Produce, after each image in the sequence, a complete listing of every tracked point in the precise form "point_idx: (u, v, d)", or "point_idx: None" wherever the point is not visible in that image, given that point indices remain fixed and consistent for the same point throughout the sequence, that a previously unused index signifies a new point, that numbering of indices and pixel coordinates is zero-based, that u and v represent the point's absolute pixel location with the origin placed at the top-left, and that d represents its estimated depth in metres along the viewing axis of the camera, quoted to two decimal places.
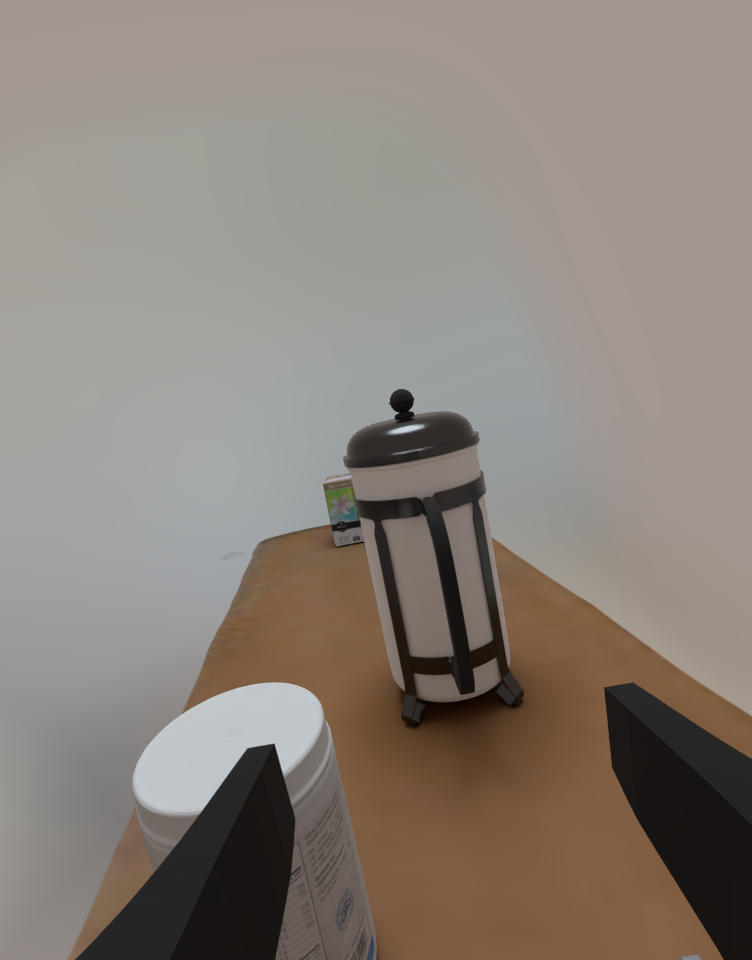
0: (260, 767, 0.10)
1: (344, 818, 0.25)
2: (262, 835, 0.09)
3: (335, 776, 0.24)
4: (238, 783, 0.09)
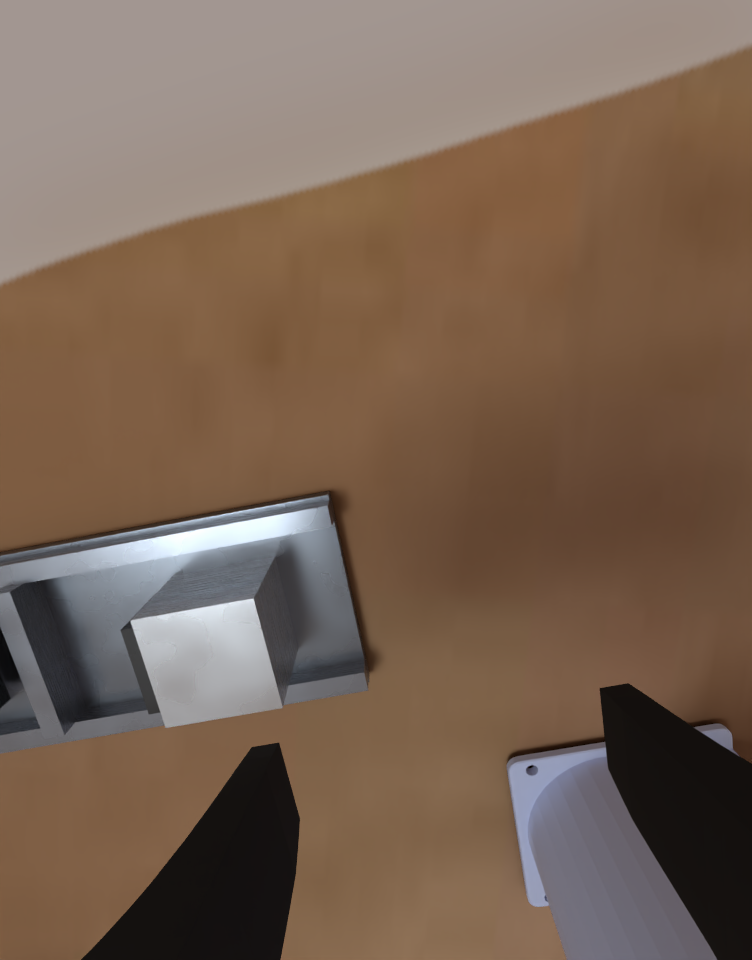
0: (265, 766, 0.10)
1: None
2: (267, 834, 0.09)
3: None
4: (243, 782, 0.09)
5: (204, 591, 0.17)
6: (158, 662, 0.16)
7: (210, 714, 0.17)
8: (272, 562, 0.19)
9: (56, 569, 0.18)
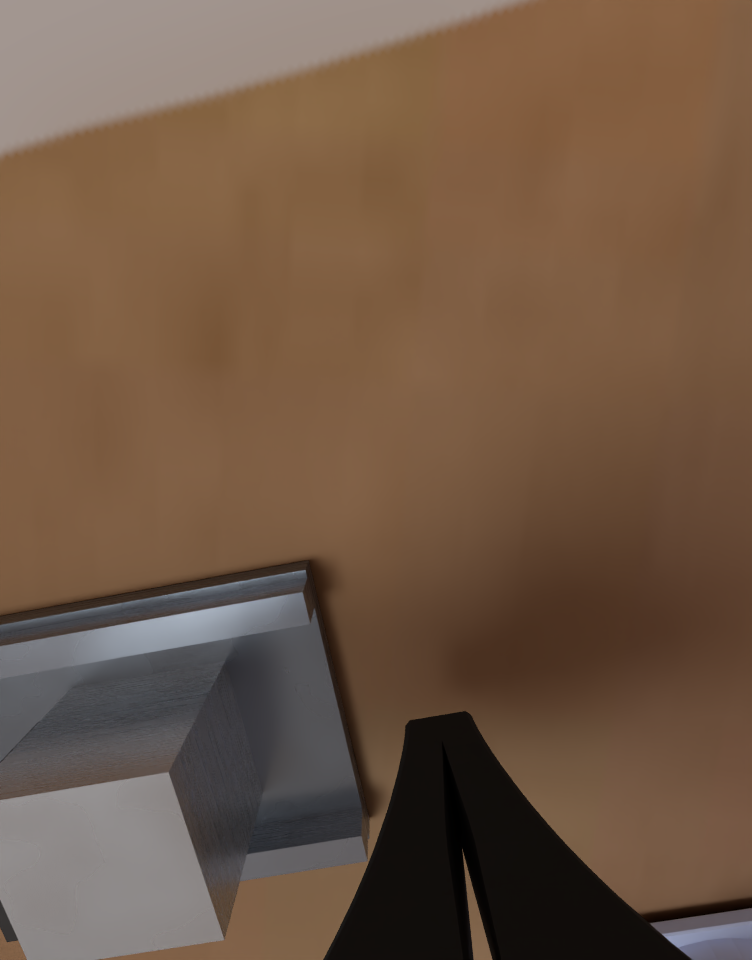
0: (439, 737, 0.10)
1: None
2: (450, 804, 0.09)
3: None
4: (424, 752, 0.09)
5: (99, 738, 0.10)
6: (11, 871, 0.10)
7: (104, 950, 0.10)
8: (219, 674, 0.12)
9: None
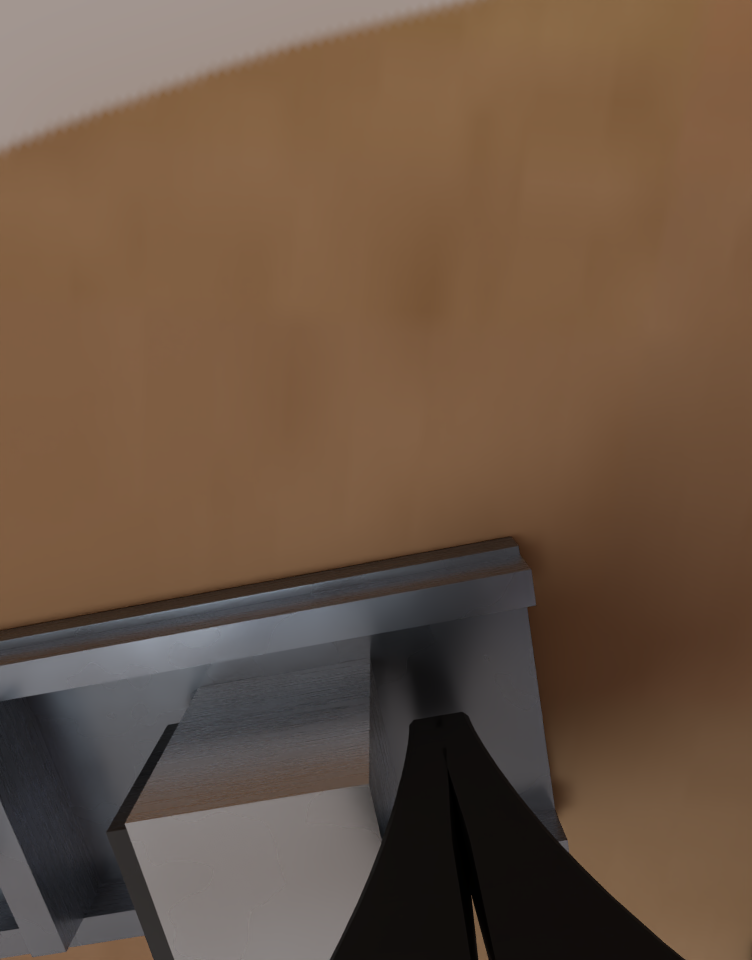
0: (443, 736, 0.10)
1: None
2: (455, 804, 0.09)
3: None
4: (428, 751, 0.09)
5: (261, 744, 0.09)
6: (178, 896, 0.08)
7: None
8: (369, 671, 0.11)
9: (50, 678, 0.10)
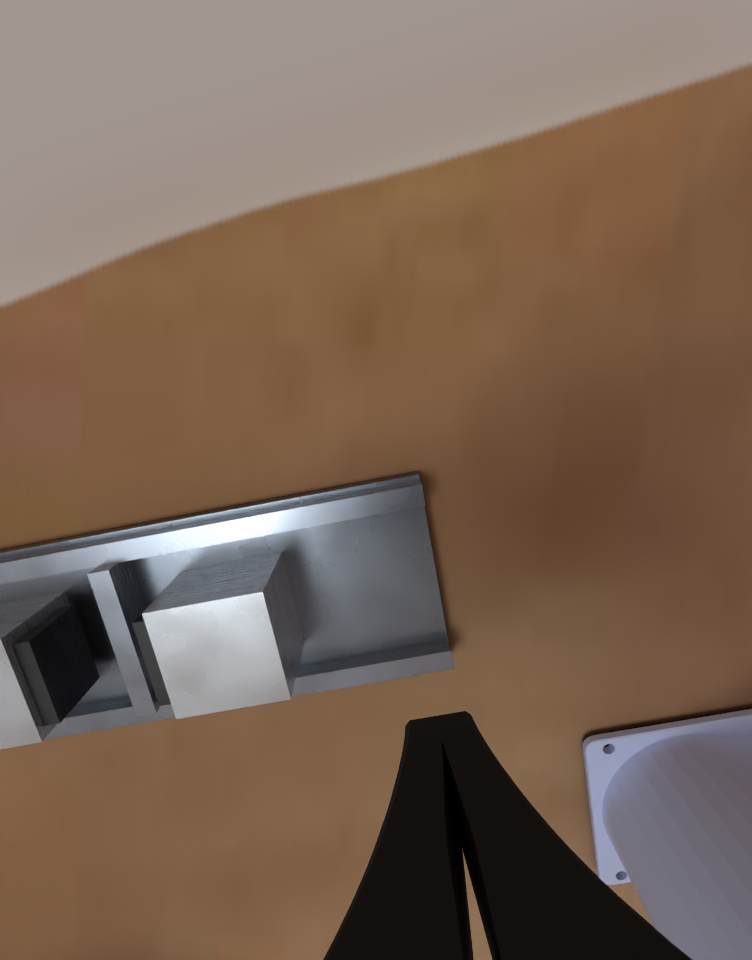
0: (439, 737, 0.10)
1: None
2: (450, 804, 0.09)
3: None
4: (424, 752, 0.09)
5: (213, 585, 0.17)
6: (169, 654, 0.16)
7: (219, 706, 0.17)
8: (279, 557, 0.19)
9: (151, 548, 0.18)
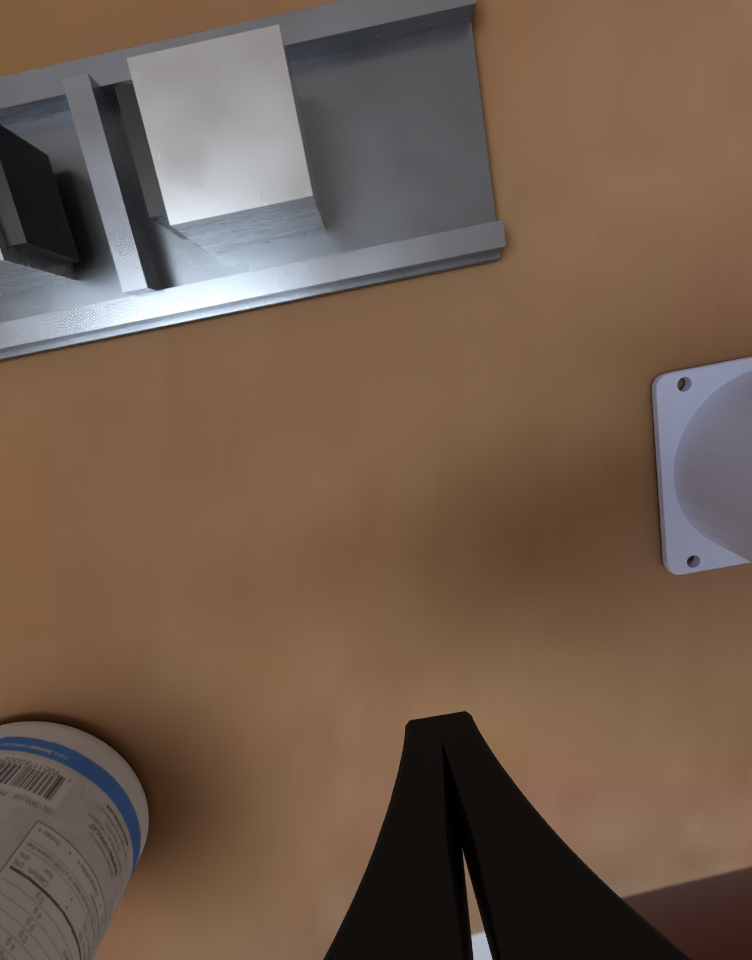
0: (439, 737, 0.10)
1: None
2: (450, 804, 0.09)
3: None
4: (424, 752, 0.09)
5: None
6: (161, 124, 0.13)
7: (224, 205, 0.14)
8: (296, 90, 0.16)
9: None
